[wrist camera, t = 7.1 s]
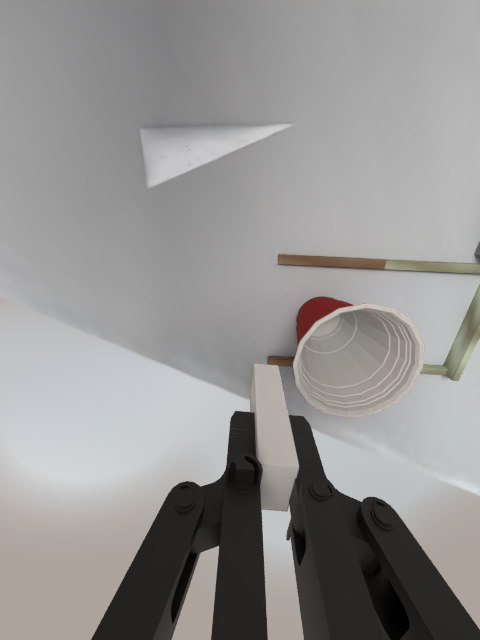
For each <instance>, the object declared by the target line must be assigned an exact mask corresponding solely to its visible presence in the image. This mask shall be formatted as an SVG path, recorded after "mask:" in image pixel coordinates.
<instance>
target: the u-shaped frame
mask: <svg viewBox="0 0 480 640" xmlns="http://www.w3.org/2000/svg"><path fill="white" fill-rule="evenodd" d="M278 264H291V265H312V266H332V267H353V268H373V269H393V270H414V271H434V272H455V273H475V274H480V264H470V263H449V262H429V261H408V260H388V259H367V258H346V257H326V256H305V255H284V254H279V255H278ZM479 338H480V286H479V288H478V290H477V292H476V294H475V297H474V299H473V301H472V303H471V306H470V308H469V310H468V312H467V315H466V317H465V319H464V321H463V323H462V326H461V328H460V330H459V332H458V335H457V337H456V339H455V341H454V344H453V346H452V348H451V350H450V352H449V355H448V357H447V359H446V361H445V364H444V366H440V365H423V368H422V370H421V372H420V374H435V375H446V376H447V377H448V378H450V379H451V380H453V381H458V380H459V378H460V376H461V374H462V372H463V370H464V368H465V366H466V364H467V362H468V360H469V358H470V356H471V354H472V352H473V350H474V348H475V346H476V344H477V342H478V340H479ZM294 359H295V358H294V357H276V356H268V361H267V363H268V365H277V366H291V367H293V362H294Z"/></svg>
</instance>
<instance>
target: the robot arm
mask: <svg viewBox="0 0 480 640" xmlns="http://www.w3.org/2000/svg"><path fill="white" fill-rule="evenodd" d="M289 505H290V512H291V520H290V524H289V527H288V530H287V539H286V540H290V536H291V543H292V551H293V559H294V566H295V574H296V581H297V589H298V597H299V604H300V612H301V619H302V627H303V634H304V640H480V630H479V628H478V627H477V625H476V624H475V622H474V621H473V620H472V618H471V617H470V615H469V614H468V613H467V612H466V610H465V609H464V607H463V606H462V604H461V603H460V601H459V600H458V599H457V597H456V596H455V594H454V593H453V591H452V590H451V589H450V587H449V586H448V584H447V583H446V582H445V580H444V579H443V577H442V576H441V574H440V573H439V572H438V570H437V569H436V567H435V566H434V565H433V563H432V562H431V560H430V559H429V558H428V556H427V555H426V553H425V552H424V550H422V548H421V546H420V545H419V543H418V542H417V541H416V539H415V538H414V536H413V535H412V534H411V532H410V531H409V529H408V528H407V526H406V525H405V524H404V522H403V521H402V519H401V518H400V517H399V515H398V514H397V513H396V512H395V510H394V509H393V508H392V507H391V506H390V505H389V504H387V503H386V502H385V501H383V500H381V499H378V498H376V497H367V498H365V499H364V500H363V502H360V501H358V500H356V499H353V498H351V497H349V496H346V495H344V494H342V493H340V492H339V491H338V490H337V489H335V488H334V486H333V485H332V483H331V482H330V481H329V480H328V479H327V478H326V475H325V473H324V470H323V466H322V463H321V460H320V456H319V453H318V450H317V446H316V444H315V440H314V437H313V433H312V430H311V427H310V424H309V423H308V422H307V420H306V419H305V418H304V416H293V415H288V410H287V406H286V401H285V396H284V391H283V386H282V382H281V377H280V372H279V367H278V366H277V365H265V364H254V371H253V379H252V387H251V395H250V412H241V411H235V413H234V414H233V416H232V417H231V421H230V433H229V444H228V455H227V465H226V470H225V472H224V474H223V475H222V477H221V478H220V479H219V480H217V481H216V482H214V483H211V484H208V485H205V486H201V487H200V486H199V485H197V484H196V483H194V482H188V481H186V482H182V483H179V484H178V485H176V486H175V487H174V488H173V489H172V490H171V491H170V493H169V494H168V496H167V497H166V499H165V501H164V503H163V505H162V507H161V509H160V511H159V513H158V514H157V517H156V518H155V520H154V522H153V524H152V526H151V528H150V530H149V532H148V533H147V535H146V537H145V539H144V541H143V543H142V545H141V547H140V549H139V550H138V552H137V554H136V556H135V558H134V560H133V562H132V564H131V566H130V567H129V569H128V571H127V573H126V575H125V577H124V579H123V581H122V583H121V584H120V587H119V588H118V590H117V592H116V594H115V596H114V598H113V600H112V601H111V603H110V605H109V607H108V609H107V611H106V613H105V615H104V617H103V618H102V620H101V622H100V624H99V626H98V628H97V630H96V632H95V634H94V635H93V637H92V639H91V640H171V639H172V636H173V633H174V630H175V627H176V624H177V621H178V618H179V615H180V612H181V609H182V606H183V603H184V600H185V597H186V594H187V591H188V588H189V585H190V582H191V579H192V576H193V573H194V570H195V567H196V564H197V561H198V558H199V555H200V553H201V552H203V551H206V550H209V549H211V548H214V547H216V546H219V557H218V568H217V579H216V592H215V603H214V614H213V625H212V636H211V640H268V638H267V617H266V596H265V575H264V555H263V533H262V513H261V509H264V510H276V511H288V507H289Z"/></svg>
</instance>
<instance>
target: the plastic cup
mask: <svg viewBox="0 0 480 640" xmlns="http://www.w3.org/2000/svg"><path fill="white" fill-rule="evenodd" d="M297 339H298V349H297V352H296V355H295V359H294V362H293V369H294V375H295V382H296V386H297V388H298V389H299V391H300V392H301V394H302V395H303V397H304V398H305V399H306V401H307V402H308V403H309V404H311V405H312V406H314V407H315V408H317V409H319V410H320V411H322V412H324V413H325V414H329V415H334V416H340V417H345V418H353V417H361V416H368V415H373V414H375V413H377V412H380V411H382V410H384V409H386V408H388V407H390V406H392V405H394V404H396V403H397V402H398V401H399V400H400V399H401V398H402V397H403V396H404V395H405V394H406V393H407V392H408V391H410V390H411V389H412V388H413V386H414V384H415V382H416V380H417V378H418V376H419V374H420V372H421V370H422V368H423V357H424V343H423V340H422V338H421V336H420V334H419V332H418V330H417V328H416V326H415V324H414V323H413V322H412V321H411V320H409V319H408V318H407V317H405V316H404V315H403V314H401V313H400V312H398V311H397V310H396V309H394V308H389V307H384V306H379V305H374V304H370V303H365V304H359V305H352V304H349V303H346V302H343V301H338V300H336V299H333V298H328V297H317V298H312V299H311V300H309V301H307V302H306V303H305V304H304V305H303V306H302V307H301V308H300V310H299V313H298V316H297Z"/></svg>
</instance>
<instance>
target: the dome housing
mask: <svg viewBox="0 0 480 640" xmlns="http://www.w3.org/2000/svg"><path fill="white" fill-rule="evenodd" d="M475 255H480V243H479V245H478V248H477V250H476V252H475Z"/></svg>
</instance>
